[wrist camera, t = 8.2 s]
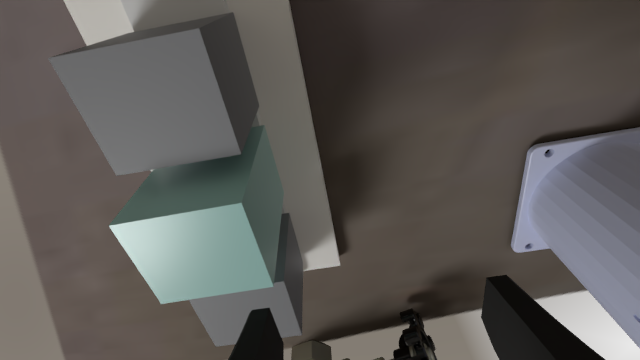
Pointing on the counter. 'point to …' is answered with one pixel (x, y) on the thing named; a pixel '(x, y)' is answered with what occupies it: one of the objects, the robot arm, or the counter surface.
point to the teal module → (206, 224)
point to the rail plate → (274, 106)
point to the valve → (412, 356)
